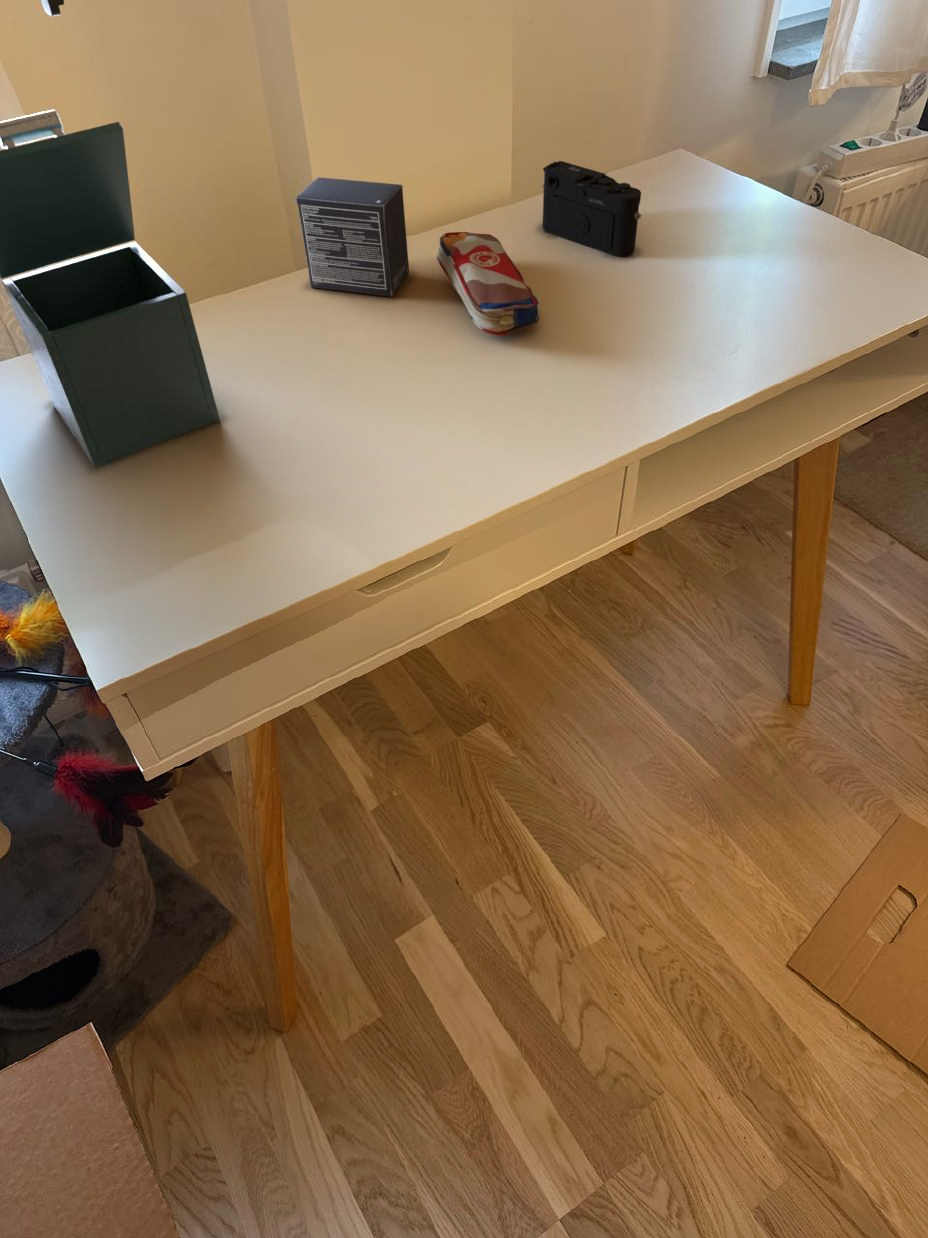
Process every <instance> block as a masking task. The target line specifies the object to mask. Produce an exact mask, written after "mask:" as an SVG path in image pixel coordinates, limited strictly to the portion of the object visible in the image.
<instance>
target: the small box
mask: <svg viewBox="0 0 928 1238" xmlns="http://www.w3.org/2000/svg"><path fill="white" fill-rule="evenodd" d="M295 200H296V204H297V209H298V214H299V221H300V225H301V234H302V239H303V244H304V252H305V257H306V265H307V269H308V271H307V272H308V277H309V286H310V288H315V289H316V288H317V289H325V290H332V291H340V292H349V293H356V294H357V293H358V294H364V295H373V296H381V297H389V298H391V297H393V296H394V295H396V292H397V291H398V289H399V288H400V287H401V285H402V284H403V283H404V282H405V281H406V279H407V278H408V276H409V275H410V265H409V254H408V239H407V228H406V216H405V203H404V202H405V201H404V191H403V184H400V183H398V184H397V183H386V182H375V181H364V180H352V179H343V178H330V177H320V176H319V177H316V178H315V179H314V180H313V181H312V182H311V183H309V184H308V186H306V188H304V189H303V190H302V191H301V192H300V193H299V194H298V195H296V197H295Z"/></svg>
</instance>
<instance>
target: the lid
mask: <svg viewBox="0 0 928 1238" xmlns="http://www.w3.org/2000/svg"><path fill="white" fill-rule="evenodd" d="M125 143H126V142H125V134H124V128H123V125H122V124H121V123H120V122H119V121H115V122H112V123H108V124H103V125H98V126H95V127H90V128H87V129H83V130H79V131H75V132H71V133H66V134H65V132H64V126H63V124H62V121H61V118H60V117H59V114H58V112H57V111H56V110H55V109H50V110H47V111H41V112H37V113H33V114H30V115H23V116H20V117H16V118H12V119H11V118H10V119H8V120H3V121H0V147H1V148H2V149H0V279H2V280H4V279H7V278H9V277H10V278H11V277H14V276H17V275H21V274H24V273H28V272H31V271H34V270H38V269H41V268H45V267H48V266H51V265H55V264H58V263H62V262H65V261H68V260H70V259H71V260H72V259H75V258H79V257H82V256H85V255H89V254H92V253H96V252H99V251H103V250H104V249H105V250H106V249H109V248H113V247H116V246H120V245H123V244H126V243H130V242H133V241H135V240H136V236H135V235H136V234H135V227H134V226H135V225H134V217H133V209H132V208H133V207H132V200H131V198H132V197H131V190H130V182H129V171H128V162H127V153H126V144H125Z"/></svg>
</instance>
